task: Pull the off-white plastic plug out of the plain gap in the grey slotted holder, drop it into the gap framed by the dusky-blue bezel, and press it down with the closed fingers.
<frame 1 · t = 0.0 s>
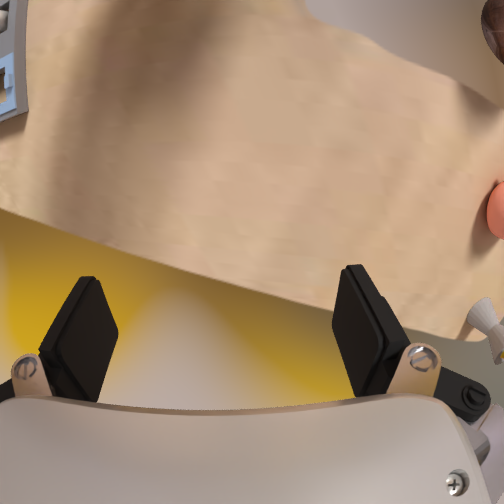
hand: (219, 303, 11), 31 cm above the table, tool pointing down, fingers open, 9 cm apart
grey slotted holder: (6, 53, 26), on the table
plug: (7, 22, 23), resting in grey slotted holder
lava lamp: (478, 310, 59), on the table
pink rounded piece: (499, 198, 44), on the table
wooden sphere: (491, 33, 27), on the table
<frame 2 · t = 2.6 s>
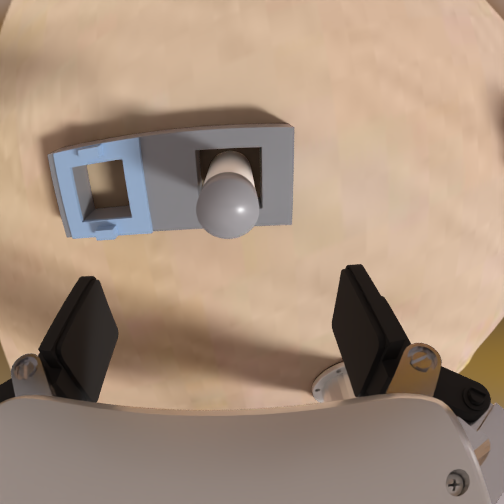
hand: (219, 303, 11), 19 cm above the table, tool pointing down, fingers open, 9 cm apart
grey slotted holder: (168, 175, 28), on the table
plug: (230, 170, 28), resting in grey slotted holder
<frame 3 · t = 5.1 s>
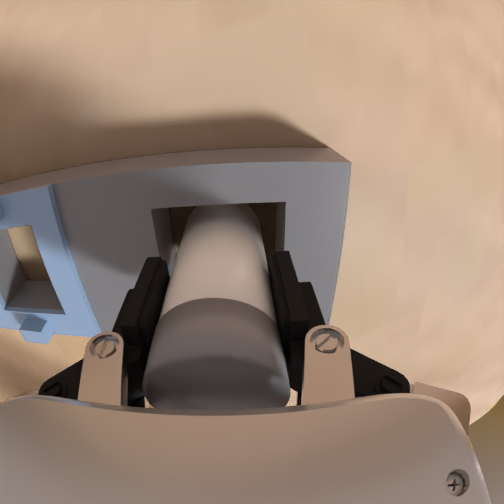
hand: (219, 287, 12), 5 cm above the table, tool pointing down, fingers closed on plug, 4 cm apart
grey slotted holder: (119, 238, 16), on the table
plug: (223, 231, 16), resting in grey slotted holder, touching gripper
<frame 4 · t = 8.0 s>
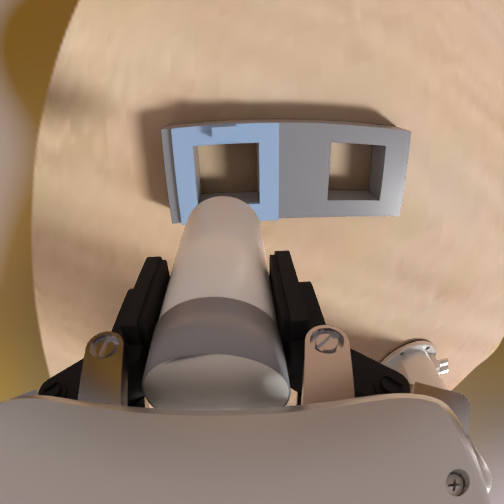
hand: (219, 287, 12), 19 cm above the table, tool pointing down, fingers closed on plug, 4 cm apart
grey slotted holder: (289, 163, 29), on the table
plug: (223, 231, 16), point 14 cm above the table, touching gripper
when the fingers open (6 cm above the table, at t = 11.0 s): plug drops 1 cm, resting in grey slotted holder.
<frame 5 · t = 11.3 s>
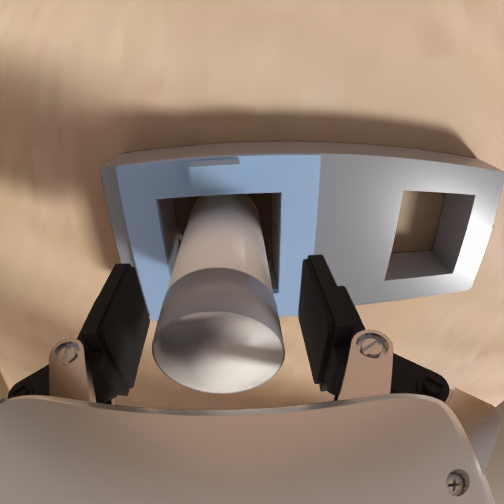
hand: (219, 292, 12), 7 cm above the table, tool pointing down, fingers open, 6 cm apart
grey slotted holder: (325, 216, 18), on the table
plug: (224, 220, 17), resting in grey slotted holder
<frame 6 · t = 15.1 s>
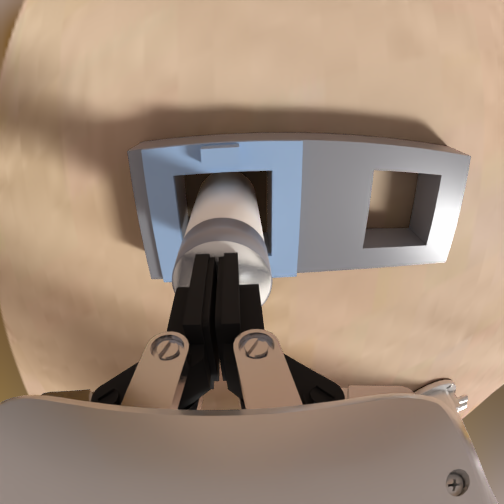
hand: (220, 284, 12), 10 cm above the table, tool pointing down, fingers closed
grey slotted holder: (311, 195, 21), on the table
plug: (226, 197, 21), resting in grey slotted holder, touching gripper
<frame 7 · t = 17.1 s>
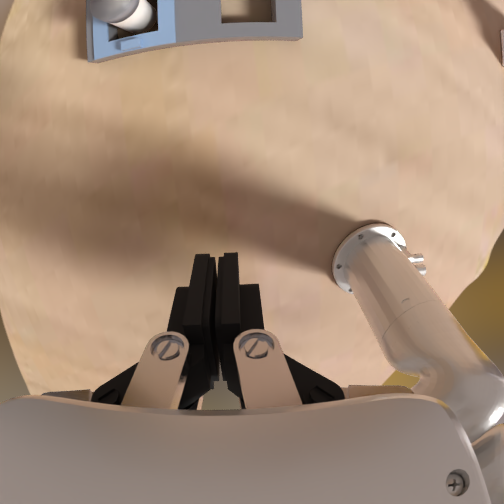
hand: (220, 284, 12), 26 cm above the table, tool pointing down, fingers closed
grey slotted holder: (191, 10, 24), on the table
plug: (140, 18, 24), resting in grey slotted holder
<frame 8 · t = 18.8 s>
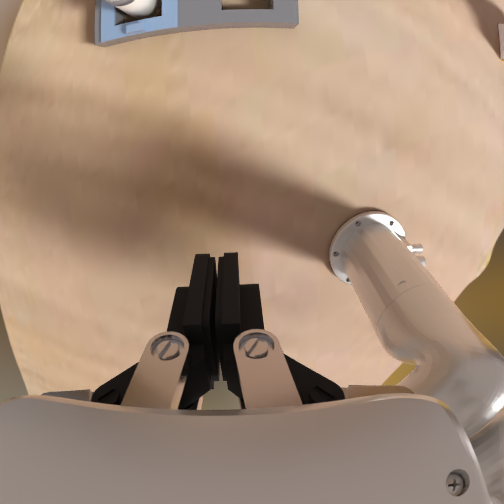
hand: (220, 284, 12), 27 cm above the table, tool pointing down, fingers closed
plug: (145, 6, 25), resting in grey slotted holder
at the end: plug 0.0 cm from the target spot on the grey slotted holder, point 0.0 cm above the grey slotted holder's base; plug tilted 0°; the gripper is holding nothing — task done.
